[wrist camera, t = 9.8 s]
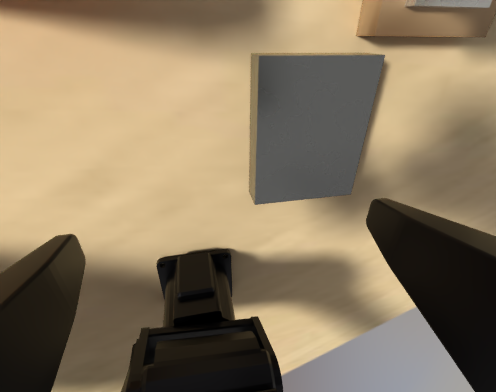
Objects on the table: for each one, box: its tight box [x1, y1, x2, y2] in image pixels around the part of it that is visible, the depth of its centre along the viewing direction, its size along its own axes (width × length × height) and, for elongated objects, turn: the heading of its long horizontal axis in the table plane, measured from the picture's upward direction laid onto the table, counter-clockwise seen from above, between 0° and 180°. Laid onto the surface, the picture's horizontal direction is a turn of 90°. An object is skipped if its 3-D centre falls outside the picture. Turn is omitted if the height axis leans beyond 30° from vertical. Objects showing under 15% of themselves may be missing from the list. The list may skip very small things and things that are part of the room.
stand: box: [249, 53, 385, 205], centre depth 19 cm, size 10×8×2 cm
